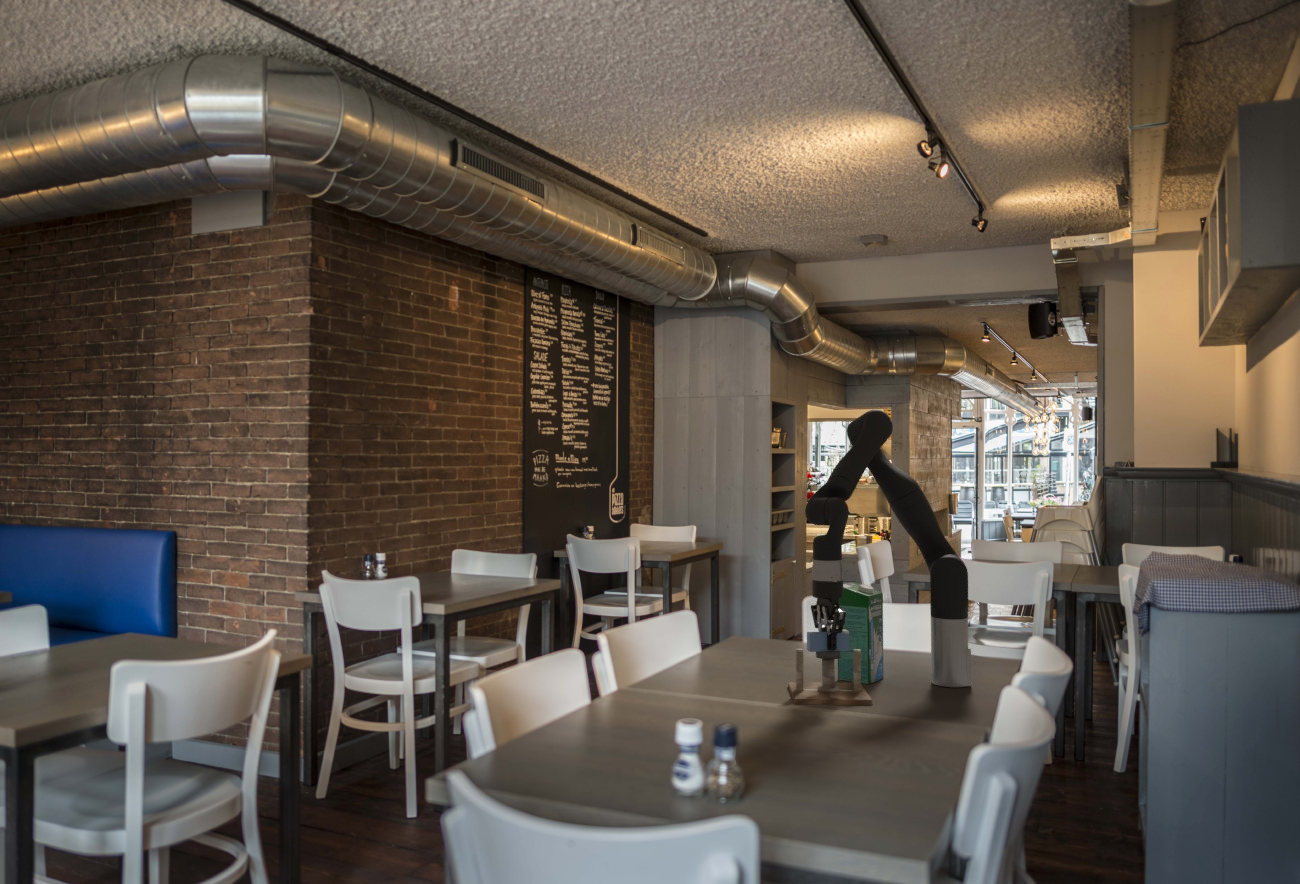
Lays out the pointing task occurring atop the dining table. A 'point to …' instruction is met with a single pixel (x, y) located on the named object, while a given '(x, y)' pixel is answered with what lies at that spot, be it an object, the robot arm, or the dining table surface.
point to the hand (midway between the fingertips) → (828, 648)
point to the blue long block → (819, 644)
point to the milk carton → (862, 632)
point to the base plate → (829, 696)
